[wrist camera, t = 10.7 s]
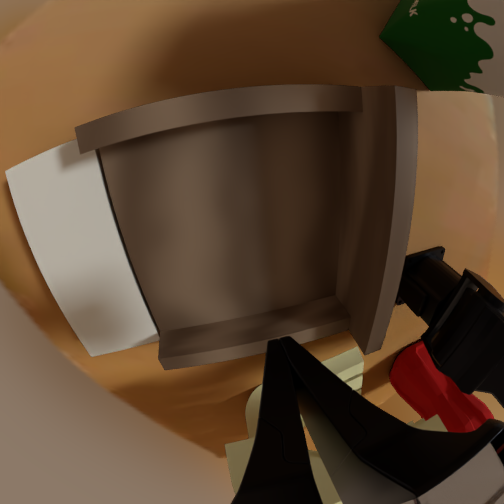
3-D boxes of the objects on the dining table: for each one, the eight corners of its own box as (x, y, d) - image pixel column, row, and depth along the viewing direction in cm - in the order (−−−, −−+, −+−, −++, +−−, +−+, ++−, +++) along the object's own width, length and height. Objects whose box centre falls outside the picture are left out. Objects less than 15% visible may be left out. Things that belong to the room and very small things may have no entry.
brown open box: (341, 90, 16) (416, 89, 10) (339, 291, 25) (380, 349, 19) (104, 123, 15) (46, 133, 8) (166, 327, 24) (164, 401, 17)
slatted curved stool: (211, 353, 26) (241, 525, 11) (356, 299, 27) (452, 439, 11) (274, 439, 41) (298, 519, 26) (354, 409, 42) (390, 484, 27)
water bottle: (386, 352, 34) (468, 487, 12) (438, 328, 35) (519, 437, 13) (373, 385, 38) (435, 501, 17) (421, 362, 39) (486, 460, 18)
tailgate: (91, 133, 13) (5, 171, 11) (160, 339, 22) (91, 356, 20) (96, 132, 14) (14, 167, 13) (159, 328, 23) (92, 345, 21)
